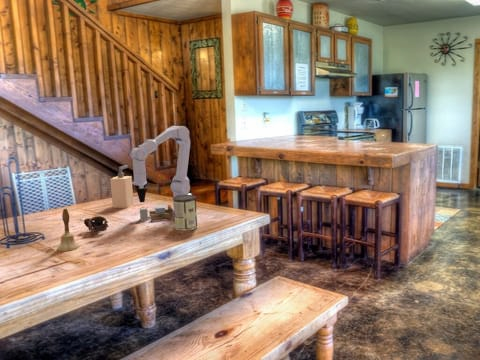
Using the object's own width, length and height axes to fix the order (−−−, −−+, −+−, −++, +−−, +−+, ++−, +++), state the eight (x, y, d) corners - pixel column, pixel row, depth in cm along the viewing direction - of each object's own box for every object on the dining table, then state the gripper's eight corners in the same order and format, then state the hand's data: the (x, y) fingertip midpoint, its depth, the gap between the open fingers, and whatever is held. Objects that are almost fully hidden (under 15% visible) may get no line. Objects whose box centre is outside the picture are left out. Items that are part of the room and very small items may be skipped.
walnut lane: (170, 214, 223) (170, 205, 222) (173, 219, 215) (172, 209, 214) (149, 216, 220) (148, 207, 220) (151, 221, 212) (150, 211, 211)
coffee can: (182, 223, 206) (180, 194, 203) (201, 225, 202) (200, 195, 199) (170, 229, 197) (168, 198, 194) (189, 231, 192) (188, 200, 190)
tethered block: (164, 216, 220) (164, 205, 219) (165, 218, 216) (165, 207, 215) (140, 218, 217) (139, 208, 216) (140, 221, 213) (140, 210, 212)
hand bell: (72, 243, 181) (68, 205, 179) (83, 247, 176) (79, 208, 173) (53, 248, 175) (48, 209, 172) (64, 252, 170) (59, 212, 167)
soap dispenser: (126, 207, 241) (123, 168, 238) (112, 207, 243) (109, 168, 239) (136, 202, 254) (134, 164, 250) (123, 202, 255) (120, 164, 252)
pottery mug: (113, 229, 201) (112, 217, 196) (102, 244, 194) (101, 231, 189) (89, 222, 203) (87, 209, 198) (78, 236, 196) (75, 223, 190)
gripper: (130, 171, 218) (132, 198, 220) (131, 175, 204) (133, 204, 206) (145, 170, 220) (147, 197, 222) (147, 174, 206) (149, 203, 208)
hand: (141, 200), depth 214 cm, fingers open, 7 cm apart
